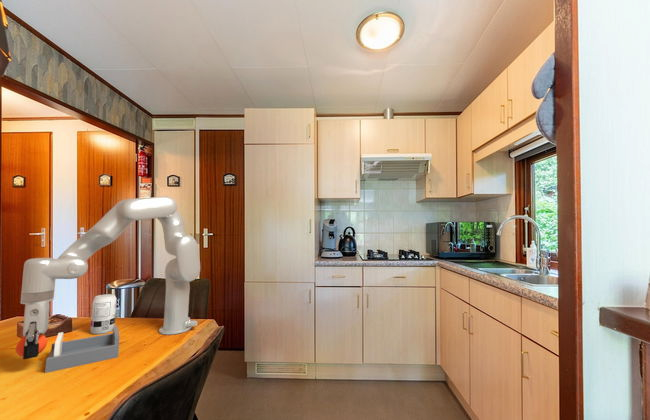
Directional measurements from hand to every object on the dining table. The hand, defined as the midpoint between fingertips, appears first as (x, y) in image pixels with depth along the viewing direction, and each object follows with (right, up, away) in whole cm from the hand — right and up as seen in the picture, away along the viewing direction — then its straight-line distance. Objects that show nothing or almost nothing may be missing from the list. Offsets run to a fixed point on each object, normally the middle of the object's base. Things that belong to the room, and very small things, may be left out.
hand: (32, 353), depth 89 cm
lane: (+10, -5, +8) cm, 14 cm away
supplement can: (-3, -7, +31) cm, 32 cm away
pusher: (+5, -4, +3) cm, 7 cm away
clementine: (0, -1, 0) cm, 1 cm away
